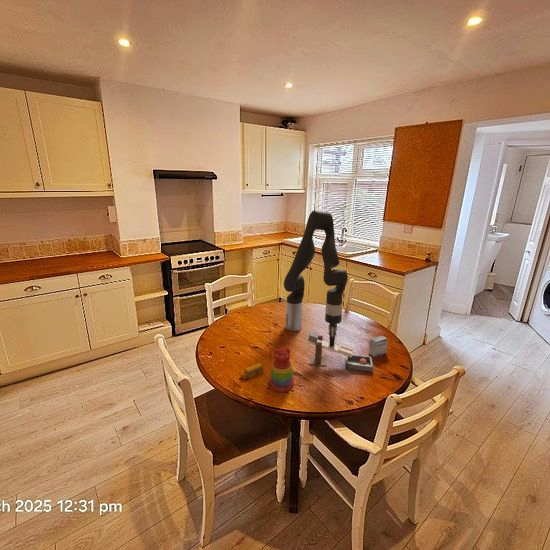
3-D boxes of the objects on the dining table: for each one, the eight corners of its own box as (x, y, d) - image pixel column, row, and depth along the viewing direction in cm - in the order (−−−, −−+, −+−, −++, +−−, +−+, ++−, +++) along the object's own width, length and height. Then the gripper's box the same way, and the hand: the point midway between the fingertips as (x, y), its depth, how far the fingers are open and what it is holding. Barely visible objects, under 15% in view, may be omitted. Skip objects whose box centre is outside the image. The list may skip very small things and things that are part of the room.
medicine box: (374, 357, 149) (376, 342, 146) (368, 353, 153) (369, 338, 150) (386, 353, 152) (388, 338, 150) (379, 349, 156) (381, 334, 154)
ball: (359, 366, 140) (360, 360, 140) (359, 362, 143) (359, 356, 143) (366, 367, 140) (367, 361, 139) (365, 363, 143) (366, 357, 142)
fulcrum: (309, 364, 143) (310, 342, 140) (310, 355, 151) (311, 334, 147) (326, 366, 141) (327, 343, 138) (327, 357, 149) (328, 335, 146)
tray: (345, 369, 139) (346, 363, 138) (345, 359, 148) (345, 353, 147) (372, 372, 137) (373, 366, 136) (370, 361, 145) (371, 356, 144)
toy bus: (240, 377, 134) (240, 369, 133) (259, 369, 140) (259, 362, 139) (244, 380, 132) (244, 373, 131) (262, 372, 137) (262, 365, 136)
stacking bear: (293, 377, 133) (293, 342, 128) (295, 392, 124) (296, 354, 119) (269, 378, 133) (268, 342, 128) (269, 393, 123) (269, 355, 118)
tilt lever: (307, 342, 141) (309, 335, 140) (308, 337, 147) (310, 330, 145) (351, 357, 139) (354, 350, 137) (351, 351, 144) (353, 344, 143)
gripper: (326, 305, 144) (324, 338, 149) (324, 317, 132) (323, 351, 137) (342, 307, 143) (340, 339, 148) (342, 318, 130) (339, 353, 135)
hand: (331, 345), depth 142 cm, fingers closed
